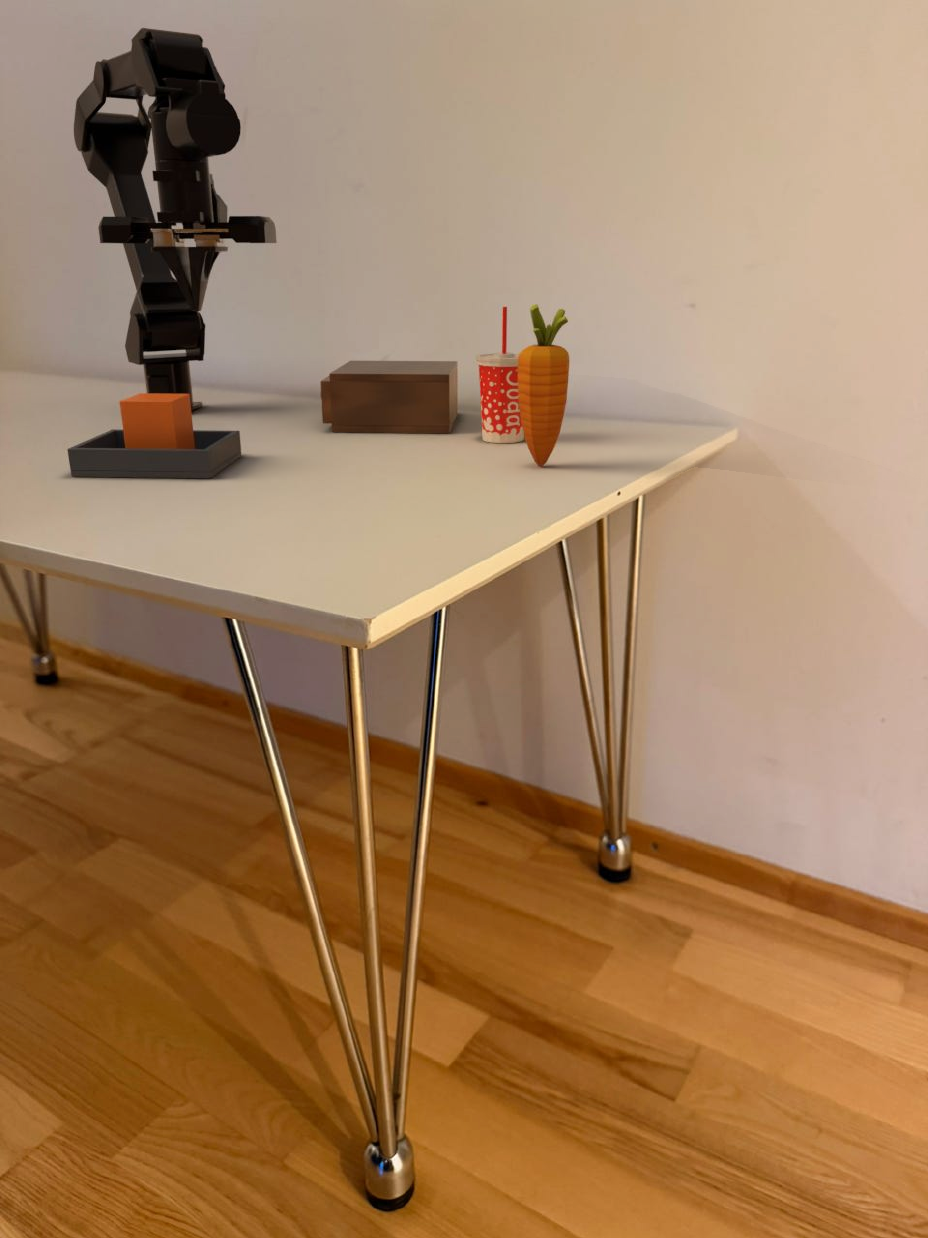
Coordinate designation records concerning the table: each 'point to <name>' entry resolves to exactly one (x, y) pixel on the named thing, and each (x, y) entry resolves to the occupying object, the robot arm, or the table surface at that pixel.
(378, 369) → the cabinet
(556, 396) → the carrot
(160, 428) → the cube
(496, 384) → the beverage cup
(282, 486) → the table surface
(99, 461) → the tray
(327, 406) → the drawer
